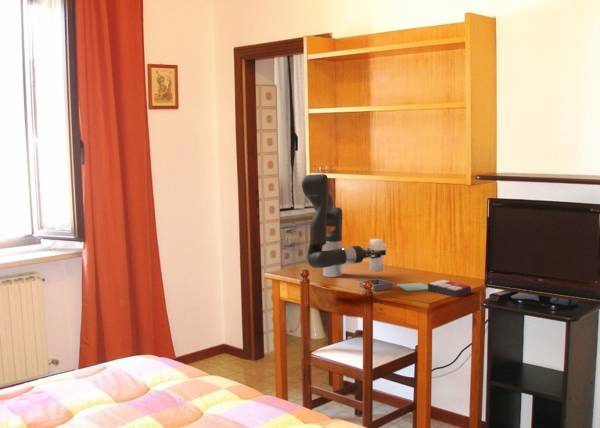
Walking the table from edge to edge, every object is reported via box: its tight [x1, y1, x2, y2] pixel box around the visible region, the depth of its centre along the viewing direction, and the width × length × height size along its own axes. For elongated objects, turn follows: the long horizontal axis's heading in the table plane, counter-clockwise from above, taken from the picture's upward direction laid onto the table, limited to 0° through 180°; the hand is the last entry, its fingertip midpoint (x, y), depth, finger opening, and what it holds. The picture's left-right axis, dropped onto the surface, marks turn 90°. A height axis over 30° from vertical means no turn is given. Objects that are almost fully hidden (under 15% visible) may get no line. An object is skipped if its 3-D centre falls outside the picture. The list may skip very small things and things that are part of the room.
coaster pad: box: [395, 282, 428, 292], centre depth 307 cm, size 12×12×1 cm
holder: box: [359, 278, 394, 292], centre depth 308 cm, size 10×10×2 cm
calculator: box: [427, 279, 472, 298], centre depth 298 cm, size 11×4×15 cm
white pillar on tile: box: [368, 238, 387, 273], centre depth 307 cm, size 8×6×14 cm
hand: (380, 251), depth 308 cm, fingers closed on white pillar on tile, 6 cm apart
